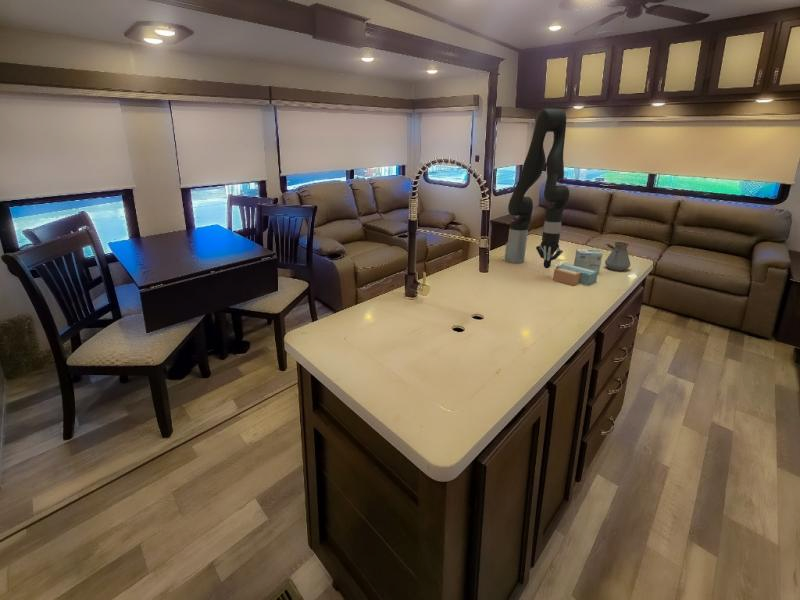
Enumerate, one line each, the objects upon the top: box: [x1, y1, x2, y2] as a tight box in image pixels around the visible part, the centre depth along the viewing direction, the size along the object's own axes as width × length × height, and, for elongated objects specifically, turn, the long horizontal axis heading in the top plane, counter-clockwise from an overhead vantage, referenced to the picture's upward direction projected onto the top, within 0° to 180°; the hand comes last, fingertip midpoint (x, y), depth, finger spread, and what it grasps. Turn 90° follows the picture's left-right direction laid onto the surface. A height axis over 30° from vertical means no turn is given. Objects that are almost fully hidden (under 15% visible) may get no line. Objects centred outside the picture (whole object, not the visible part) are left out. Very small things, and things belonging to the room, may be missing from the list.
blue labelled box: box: [555, 262, 599, 286], centre depth 190 cm, size 16×8×5 cm, turn 41°
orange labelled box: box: [552, 268, 581, 287], centre depth 186 cm, size 10×5×5 cm, turn 41°
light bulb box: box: [573, 248, 603, 275], centre depth 199 cm, size 11×7×11 cm, turn 84°
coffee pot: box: [603, 241, 631, 272], centre depth 201 cm, size 21×12×15 cm, turn 127°
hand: (546, 267), depth 193 cm, fingers closed
